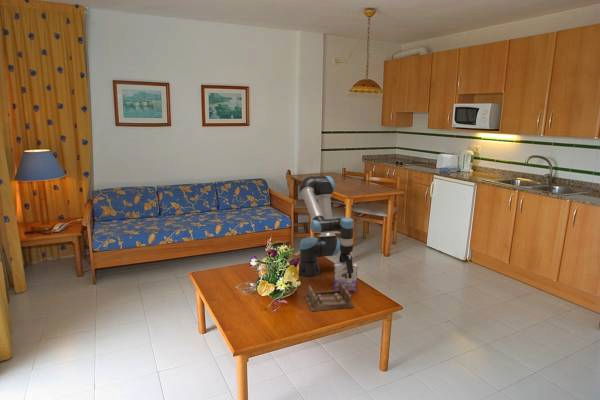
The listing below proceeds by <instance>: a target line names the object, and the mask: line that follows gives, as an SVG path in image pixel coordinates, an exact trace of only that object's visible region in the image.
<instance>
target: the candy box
mask: <svg viewBox="0 0 600 400" xmlns="http://www.w3.org/2000/svg"><path fill="white" fill-rule="evenodd" d="M352 264H353V273H352V283H347V272H348V271H347V266H346V262H345V263H340V262H339V261H337V262H336V261H335V262H334V263H333V290H339V283H343V285H344V286H345V288H346V289H347V290H348V292H349V293H350V292H354V293H357V292H358V263H357V262H352Z"/></svg>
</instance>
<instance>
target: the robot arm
mask: <svg viewBox="0 0 600 400" xmlns="http://www.w3.org/2000/svg"><path fill="white" fill-rule="evenodd" d="M335 185H336V184H335V180H334V179H333V177H332V176H330V175H317V176H316V175H314V176H312V175H311V176H306V177H305V178H303V179H302V181H301V182H300V184H299V188H298V192H299V195H300V197H301V198H302V199H303V202H304V204H305V206H306V209H307V211H308V214H309V216H310V218H311V221H310V224H309V227H310V231H311V232H312V233H320V235H319V236H318V238H317V237H315V236H313V237H312V236H309V237H304V238H302V239H301V240H300V243H299V262H300V263H298V265H299V274H300V275H299V274H298V275H299V276H301V277H307V278H309V277H316V276H318V275H320V273H321V269H320V265H319V262H318V258H322V257H324V258H325V257H332V256H337V255H338V254H340V256H339V259H338V262H340V263H346V266H347V271H348V272H347V283H352V273H353V264H352V263H353V256H352V255H351V254H350V253H352V252H353V251H354V250H353V249H354V226H355V225H354V219H352V218H349V217H341V216H340V217H339V216H336V217H334V218H333V214H332V213H333V212H332V201H331V197H332V196H333V193H334V192H335V190H336V188H335V187H336V186H335ZM335 232H339V236H340V238H338V237H337V234H335ZM339 252H340V253H339Z"/></svg>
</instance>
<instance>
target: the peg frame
mask: <svg viewBox="0 0 600 400" xmlns="http://www.w3.org/2000/svg"><path fill="white" fill-rule="evenodd" d="M304 298H305V301H306V303H307V304H308V307H309V309H310V311H311V312H321V311H331V310H342V309H353V308H354V309H355V304H354V303H353V302H352V294H351V293H350V292H349V291H348V290H347V289H346V288H345V286H344V285H343V283H339V290H334V289H333V290H321V291H320V290H319V291H314V290H313V287H312V286H311V284H308V285H307V294H304Z"/></svg>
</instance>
